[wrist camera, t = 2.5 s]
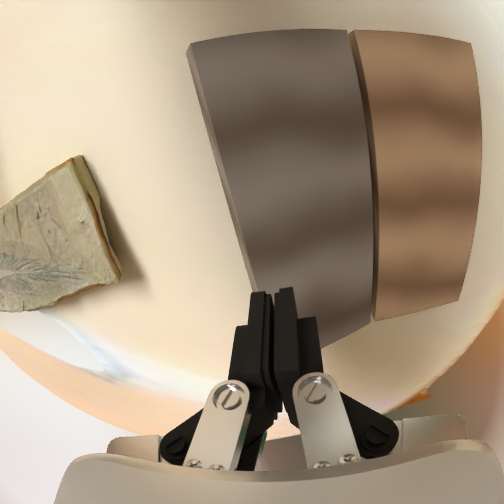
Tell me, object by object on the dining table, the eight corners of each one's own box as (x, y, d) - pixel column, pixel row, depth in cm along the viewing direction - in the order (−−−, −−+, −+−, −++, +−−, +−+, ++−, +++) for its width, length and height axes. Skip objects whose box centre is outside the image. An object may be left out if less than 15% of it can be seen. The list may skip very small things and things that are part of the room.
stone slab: (-45, 253, 21) (47, 156, 14) (-28, 238, 25) (82, 141, 17) (-3, 320, 27) (126, 301, 20) (11, 303, 31) (145, 270, 23)
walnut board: (345, 36, 13) (354, 30, 11) (455, 44, 11) (470, 43, 10) (369, 305, 24) (374, 321, 22) (449, 287, 22) (458, 300, 21)
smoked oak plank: (186, 53, 11) (190, 43, 10) (327, 36, 13) (346, 30, 11) (270, 350, 22) (279, 367, 21) (357, 309, 24) (369, 322, 22)
